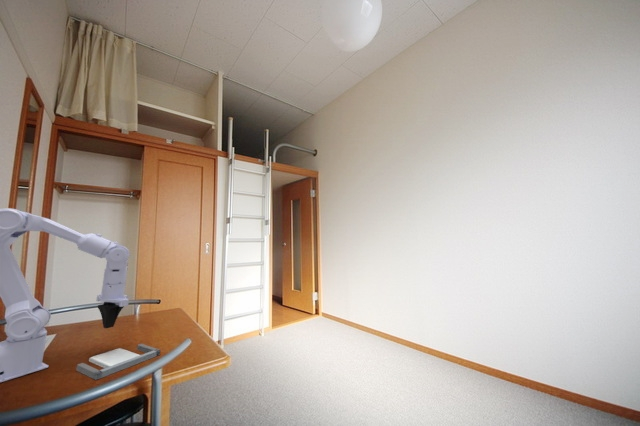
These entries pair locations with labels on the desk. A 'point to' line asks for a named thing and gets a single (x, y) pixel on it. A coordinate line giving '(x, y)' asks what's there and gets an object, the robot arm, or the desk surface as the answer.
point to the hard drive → (112, 357)
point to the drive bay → (98, 374)
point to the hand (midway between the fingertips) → (108, 327)
